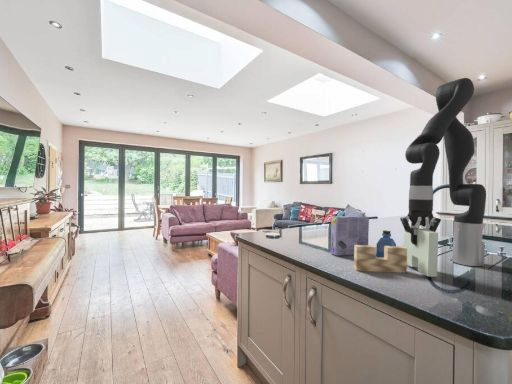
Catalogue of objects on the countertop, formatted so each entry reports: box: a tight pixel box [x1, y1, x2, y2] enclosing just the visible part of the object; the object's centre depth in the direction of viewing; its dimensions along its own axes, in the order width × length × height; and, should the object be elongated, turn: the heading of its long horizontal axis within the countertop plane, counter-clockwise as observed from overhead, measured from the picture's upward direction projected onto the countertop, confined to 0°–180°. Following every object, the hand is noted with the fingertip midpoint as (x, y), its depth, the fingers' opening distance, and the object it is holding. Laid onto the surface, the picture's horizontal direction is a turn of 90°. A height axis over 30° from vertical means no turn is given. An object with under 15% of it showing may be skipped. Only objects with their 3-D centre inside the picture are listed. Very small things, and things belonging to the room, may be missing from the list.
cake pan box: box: [330, 215, 370, 257], centre depth 118 cm, size 19×5×18 cm, turn 108°
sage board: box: [403, 224, 439, 278], centre depth 94 cm, size 3×16×15 cm, turn 176°
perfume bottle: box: [376, 230, 397, 258], centre depth 112 cm, size 6×6×12 cm
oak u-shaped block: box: [353, 244, 408, 274], centre depth 95 cm, size 18×3×9 cm, turn 86°
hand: (419, 244), depth 93 cm, fingers closed on sage board, 3 cm apart
